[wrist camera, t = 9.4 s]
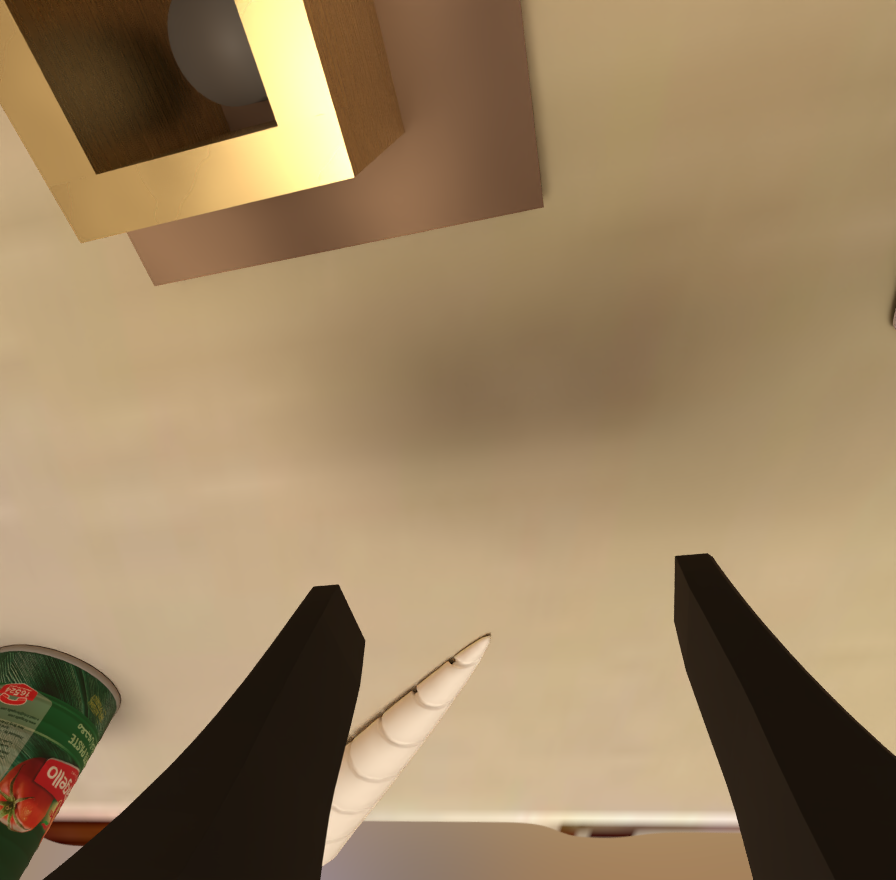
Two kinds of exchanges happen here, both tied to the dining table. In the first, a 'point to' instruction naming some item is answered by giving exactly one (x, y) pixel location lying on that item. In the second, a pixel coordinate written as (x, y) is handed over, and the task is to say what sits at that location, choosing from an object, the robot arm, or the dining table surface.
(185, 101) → the brass collar
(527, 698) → the dining table surface
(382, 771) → the unicorn horn
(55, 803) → the canned tomato
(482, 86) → the post stand
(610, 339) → the dining table surface
